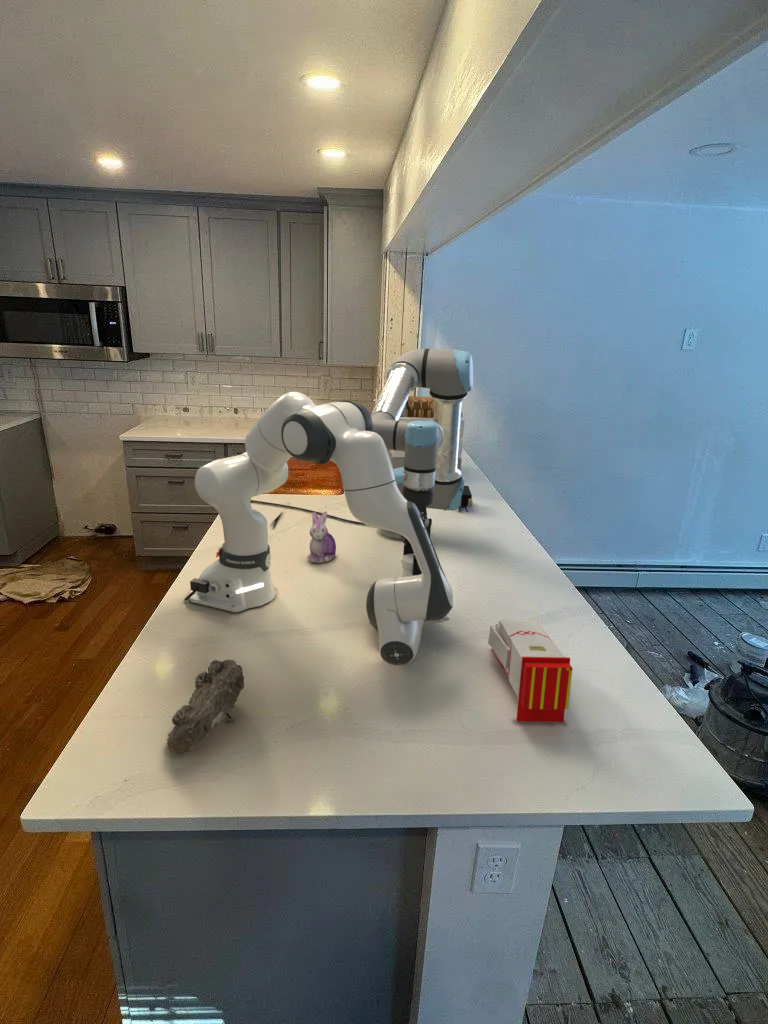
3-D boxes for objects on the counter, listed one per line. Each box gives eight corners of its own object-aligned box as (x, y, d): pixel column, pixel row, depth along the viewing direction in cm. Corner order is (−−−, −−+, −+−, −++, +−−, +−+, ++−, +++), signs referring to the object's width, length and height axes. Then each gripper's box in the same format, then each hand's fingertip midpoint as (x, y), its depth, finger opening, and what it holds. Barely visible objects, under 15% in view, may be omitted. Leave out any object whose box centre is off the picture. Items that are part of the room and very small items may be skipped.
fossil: (192, 660, 117) (244, 628, 112) (224, 691, 120) (276, 661, 115) (142, 746, 98) (202, 712, 93) (182, 779, 101) (242, 748, 96)
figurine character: (472, 516, 224) (466, 500, 237) (474, 499, 220) (469, 483, 234) (455, 515, 224) (451, 499, 237) (457, 498, 220) (452, 483, 234)
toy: (535, 605, 135) (581, 664, 106) (530, 657, 138) (574, 728, 108) (484, 604, 135) (517, 662, 105) (480, 656, 137) (511, 727, 108)
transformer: (382, 463, 289) (386, 382, 275) (445, 464, 293) (451, 384, 279) (390, 482, 257) (394, 392, 243) (460, 483, 261) (468, 394, 247)
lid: (426, 561, 145) (427, 555, 144) (423, 571, 140) (423, 564, 139) (403, 558, 146) (404, 552, 146) (399, 567, 141) (399, 561, 140)
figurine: (314, 566, 172) (314, 520, 167) (302, 553, 180) (302, 509, 175) (342, 561, 176) (343, 516, 171) (330, 549, 184) (330, 505, 179)
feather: (289, 506, 225) (292, 502, 225) (272, 529, 199) (275, 525, 198) (286, 503, 225) (288, 500, 225) (268, 527, 199) (271, 522, 198)
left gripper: (450, 610, 131) (453, 583, 144) (363, 600, 134) (373, 574, 147) (448, 633, 133) (450, 605, 146) (362, 623, 136) (372, 596, 149)
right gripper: (390, 476, 143) (386, 559, 151) (418, 500, 126) (412, 592, 134) (418, 474, 146) (412, 556, 153) (449, 498, 129) (441, 589, 136)
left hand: (411, 589), depth 146 cm, fingers closed on jar, 5 cm apart
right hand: (412, 573), depth 144 cm, fingers open, 6 cm apart
